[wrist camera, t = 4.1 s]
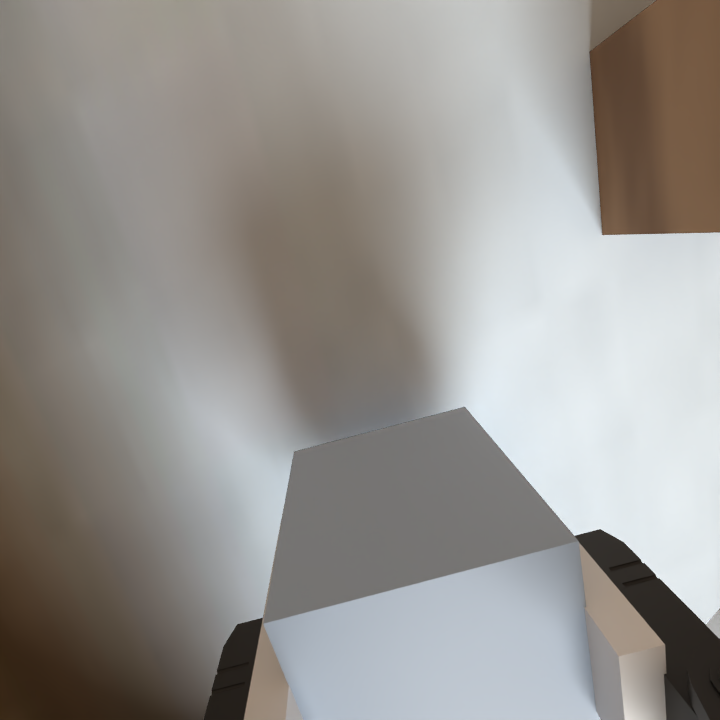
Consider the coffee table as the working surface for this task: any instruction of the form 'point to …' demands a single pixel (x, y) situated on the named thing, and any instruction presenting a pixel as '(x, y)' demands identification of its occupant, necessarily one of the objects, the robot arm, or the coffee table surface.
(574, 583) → the gray brick
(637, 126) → the walnut brick
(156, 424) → the coffee table surface
